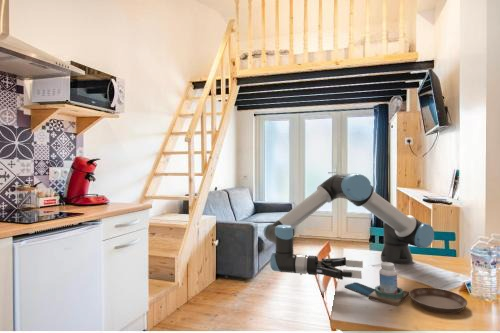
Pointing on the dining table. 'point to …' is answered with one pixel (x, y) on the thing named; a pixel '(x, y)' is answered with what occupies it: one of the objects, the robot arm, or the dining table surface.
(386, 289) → the pill bottle
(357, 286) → the smartphone
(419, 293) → the plant saucer
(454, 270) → the dining table surface
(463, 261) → the dining table surface
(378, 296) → the holder board
